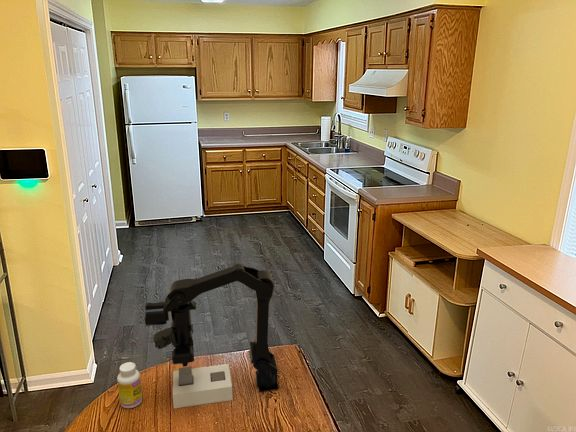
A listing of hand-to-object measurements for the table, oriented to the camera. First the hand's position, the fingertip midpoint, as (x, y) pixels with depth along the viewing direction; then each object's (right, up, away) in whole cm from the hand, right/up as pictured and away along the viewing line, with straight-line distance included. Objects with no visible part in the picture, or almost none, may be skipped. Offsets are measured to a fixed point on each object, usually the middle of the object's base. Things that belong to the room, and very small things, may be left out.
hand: (185, 365), depth 142 cm
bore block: (+5, -10, +4) cm, 12 cm away
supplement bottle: (-17, -11, 0) cm, 20 cm away
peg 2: (+10, -9, +5) cm, 14 cm away
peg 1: (0, -7, +2) cm, 7 cm away
